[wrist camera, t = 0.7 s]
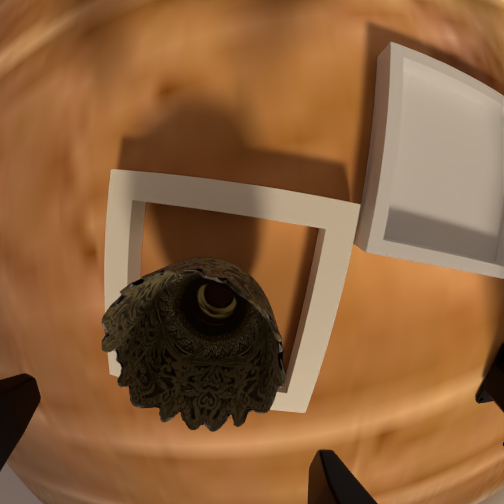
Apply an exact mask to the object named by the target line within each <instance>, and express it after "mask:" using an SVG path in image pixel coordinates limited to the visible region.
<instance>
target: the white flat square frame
mask: <svg viewBox="0 0 504 504" xmlns="http://www.w3.org/2000/svg"><path fill="white" fill-rule="evenodd" d="M146 202H151V203H159V204H167V205H174V206H182V207H189V208H196V209H203V210H210V211H217V212H224V213H230V214H237V215H243V216H250V217H256V218H262V219H269V220H275V221H281V222H287V223H293V224H299V225H304V226H310V227H316V228H319V230H318V235H317V241H316V246H315V251H314V256H313V261H312V266H311V271H310V275H309V280H308V285H307V290H306V294H305V299H304V303H303V308H302V312H301V316H300V321H299V325H298V329H297V333H296V337H295V341H294V345H293V350H292V353H291V357H290V361H289V365H288V369H287V373H286V380H285V384H284V386H283V387H282V388H278V390H277V393H276V397H275V400H274V402H273V404H272V406H271V408H270V410H279V411H289V412H300V413H305V412H306V410H307V407H308V404H309V401H310V398H311V395H312V392H313V389H314V386H315V383H316V380H317V377H318V374H319V371H320V368H321V365H322V362H323V358H324V355H325V352H326V349H327V345H328V342H329V338H330V335H331V331H332V328H333V324H334V321H335V317H336V313H337V310H338V306H339V302H340V298H341V294H342V290H343V286H344V282H345V278H346V273H347V269H348V265H349V260H350V256H351V251H352V246H353V241H354V237H355V232H356V226H357V221H358V216H359V210H360V205H361V204H356V203H351V202H347V201H342V200H337V199H332V198H326V197H321V196H316V195H310V194H305V193H299V192H294V191H288V190H282V189H276V188H270V187H264V186H257V185H251V184H244V183H237V182H230V181H222V180H215V179H207V178H199V177H190V176H182V175H172V174H163V173H152V172H141V171H130V170H116V169H111V175H110V184H109V194H108V205H107V218H106V234H105V266H104V289H105V313H106V311H107V310H108V308H109V307H110V305H111V304H112V303H113V302H115V301H116V300H117V299H118V298H119V297H120V296H121V293H120V291H121V290H122V289H123V288H125V287H126V286H127V285H129V284H130V283H132V282H135V281H137V280H139V279H140V273H141V254H142V239H143V227H144V216H145V206H146ZM114 350H115V349H114ZM114 350H113V351H111V352H108V360H109V370H110V374H111V375H114V376H117V377H119V376H120V374H121V372H120V371H121V366H120V364H119V363H118V362H117V361H116V351H114Z"/></svg>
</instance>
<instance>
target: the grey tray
mask: <svg viewBox="0 0 504 504" xmlns="http://www.w3.org/2000/svg"><path fill="white" fill-rule="evenodd" d="M353 244H355V245H356V246H358V247H359V248H360V249H362V250H363V251H365V252H366V253H371V254H377V255H382V256H388V257H393V258H399V259H404V260H410V261H415V262H420V263H426V264H431V265H436V266H441V267H447V268H452V269H457V270H462V271H467V272H472V273H477V274H482V275H487V276H492V277H497V278H502V279H504V96H503V95H502V94H500V93H499V92H497V91H495V90H494V89H492V88H490V87H489V86H487V85H485V84H484V83H482V82H480V81H478V80H476V79H475V78H473V77H471V76H469V75H467V74H465V73H463V72H461V71H459V70H458V69H456V68H453V67H451V66H449V65H447V64H445V63H443V62H441V61H439V60H436V59H434V58H432V57H430V56H427V55H425V54H422V53H420V52H418V51H415V50H412V49H410V48H407V47H405V46H402V45H399V44H396V43H394V42H390V43H389V44H388V45H387V46H386V47H385V49H384V50H383V51H382V52H381V53H380V54H379V55H378V57H377V70H376V86H375V99H374V111H373V121H372V130H371V139H370V147H369V155H368V162H367V169H366V176H365V182H364V189H363V195H362V201H361V206H360V212H359V217H358V223H357V228H356V233H355V238H354V243H353Z"/></svg>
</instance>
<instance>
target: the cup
mask: <svg viewBox="0 0 504 504" xmlns="http://www.w3.org/2000/svg"><path fill="white" fill-rule="evenodd" d="M211 284H219V285H222V286H224V287H226V288H227V289H228V290H229V291H230V292H231V293H232V298H231V301H230V303H229V304H228V305H226V306H225V307H220V308H219V307H214V306H212V305H211V304H210V303H209V302H208V301H207V299H206V296H205V292H206V289H207V288H208V286H209V285H211ZM120 293H121V296H120V297H119V298H118V299H117V300H116V301H115V302H113V303H112V304H111V305H110V307H109V308H108V310H107V311H106V313H105V315H104V316H103V318H102V326H103V327H104V331H105V334H106V335H105V336H104V338H103V339H102V350H103V351H105V352H111V351H113V350H114V349H115V350H114V351H116V361H117V362H118V363H119V364H120V366H121V371H120V372H121V374H120V376H119V378H118V381H117V382H118V385H119V386H120V387H126V386H127V387H128V386H129V394H130V401H131V403H132V405H133V406H136V407H138V408H153V407H157V408H159V409H160V412H159V415H160V418H161V421H162V422H167V421H169V420H172V419H173V418H174V416H175V415H176V414H178V413H179V412H181V417H182V420H183V421H185V423H186V425H187V426H188V428H189V429H190V430H196V429H198V428H199V426H200V425H203V424H204V423H205V424H204V425H205V426H206V427H207V428H208V429H209V430H210V431H212V432H214V431H216V430H218V429H220V428H221V427H222V425H223V424H224V423H225V422H226V421H227V419H228V417H229V416H230V415H232V418H233V421H234V425H235V426H236V427H239V426H241V425H242V424H243V423H244V422H245V420H246V417H247V414H248V412H252V411H255V412H256V413H267V412H268V411H269V410H270V408H271V406H272V404H273V402H274V400H275V397H276V393H277V390H278V388H282V387H283V386H284V384H285V380H286V372H285V369H284V365H283V346H282V337H281V335H280V333H279V330H278V327H277V324H276V320H275V317H274V314H273V311H272V308H271V306H270V303H269V301H268V299H267V297H266V295H265V293H264V292H263V290H262V288H261V287H260V286H259V284H258V283H257V282H256V281H255V280H254V278H253V277H252V276H250V275H249V274H248V273H247V272H246V271H244V270H243V269H241V268H240V267H238V266H236V265H234V264H232V263H230V262H227V261H224V260H221V259H216V258H207V257H200V258H192V259H186V260H183V261H179V262H176V263H173V264H171V265H169V266H166V267H164V268H162V269H159V270H157V271H155V272H152V273H150V274H147V275H145V276H143V277H141V279H139V280H137V281H135V282H132V283H130V284H129V285H127V286H126V287H125V288H123V289H122V290H121V291H120ZM230 418H231V417H230Z"/></svg>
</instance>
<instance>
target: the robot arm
mask: <svg viewBox="0 0 504 504" xmlns="http://www.w3.org/2000/svg"><path fill="white" fill-rule="evenodd" d="M40 399H41V396H40V392H39V389H38V385H37V382H36V379H35V378H34V377H32V376H31V375H29V374H26V373H23V374H20V375H16V376H13V377H9V378H6V379H2V380H0V471H1V469H2V468H3V466H4V464H5V463H6V461H7V459H8V458H9V456H10V454H11V453H12V451H13V450H14V448H15V446H16V445H17V443H18V442H19V440H20V438H21V437H22V435H23V434H24V432H25V430H26V428H27V426H28V424H29V422H30V420H31V418H32V416H33V414H34V412H35V410H36V408H37V406H38V404H39V402H40ZM491 401H494V402H495V403H496V404H497V405H498V407H499V408H500V409H501V410H502V411H503V412H504V343H503V344H502V346H501V349H500V351H499V353H498V355H497V358H496V360H495V362H494V364H493V366H492V368H491V370H490V372H489V374H488V376H487V378H486V380H485V382H484V384H483V386H482V388H481V390H480V392H479V393H478V395H477V397H476V402H477V403H485V402H491ZM503 446H504V442H503ZM308 504H378V503H377V502H376V501H375V500H374V499H373V498H372V497H371V495H370V494H369V493H368V492H367V491H366V490H365V488H364V487H363V486H362V485H361V484H360V483H359V481H358V480H357V479H356V478H355V477H354V475H353V474H352V473H351V472H350V471H349V469H348V468H347V467H346V466H345V465H344V463H343V462H342V461H341V460H340V459H339V457H338V456H337V455H336V454H335V452H334V451H332V450H318V451H317V453H316V455H315V457H314V459H313V461H312V463H311V465H310V468H309V483H308Z"/></svg>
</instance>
